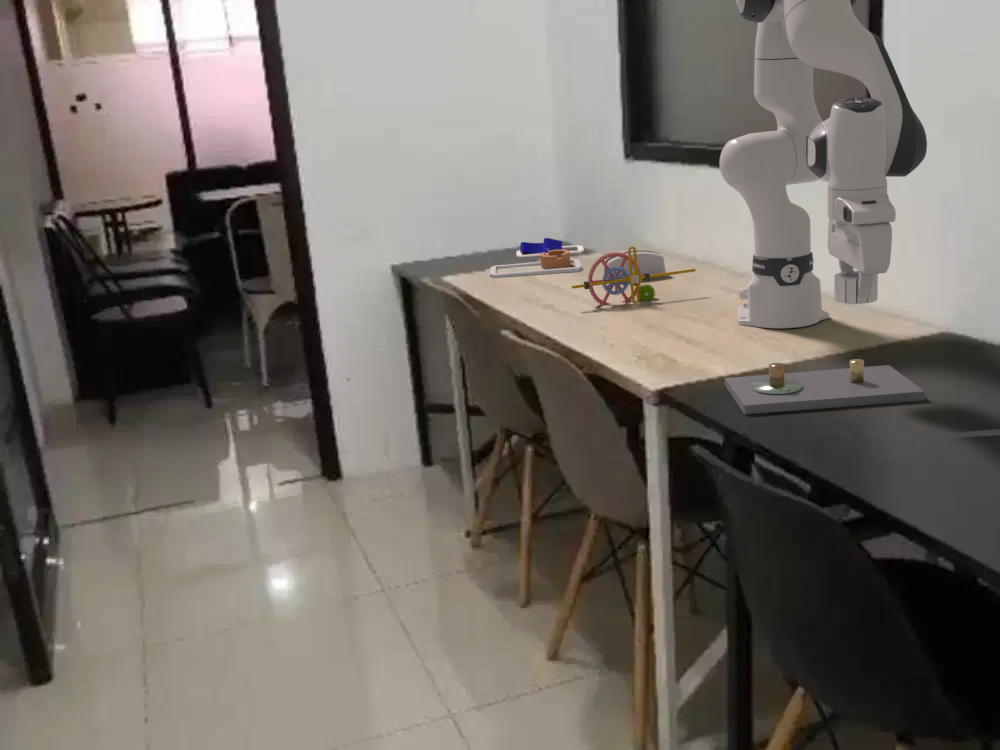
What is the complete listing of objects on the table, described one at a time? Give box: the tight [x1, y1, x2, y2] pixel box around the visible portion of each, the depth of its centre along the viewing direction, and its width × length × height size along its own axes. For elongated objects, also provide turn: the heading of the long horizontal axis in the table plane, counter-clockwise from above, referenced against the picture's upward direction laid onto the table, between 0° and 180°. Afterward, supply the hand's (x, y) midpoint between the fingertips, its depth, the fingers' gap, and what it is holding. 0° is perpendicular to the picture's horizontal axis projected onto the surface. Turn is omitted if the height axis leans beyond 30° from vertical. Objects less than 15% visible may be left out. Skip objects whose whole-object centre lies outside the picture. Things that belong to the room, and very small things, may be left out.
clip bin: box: [516, 244, 585, 259], centre depth 318 cm, size 12×20×4 cm, turn 89°
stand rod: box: [849, 358, 865, 383], centre depth 171 cm, size 2×2×4 cm
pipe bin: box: [489, 258, 583, 279], centre depth 292 cm, size 15×25×4 cm, turn 89°
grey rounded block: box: [602, 249, 667, 279], centre depth 271 cm, size 17×5×10 cm, turn 100°
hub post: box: [752, 362, 802, 395], centre depth 172 cm, size 8×8×4 cm
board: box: [724, 364, 925, 415], centre depth 172 cm, size 16×28×2 cm, turn 89°
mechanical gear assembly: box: [571, 246, 696, 306], centre depth 244 cm, size 30×4×15 cm, turn 102°
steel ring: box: [833, 270, 879, 305], centre depth 168 cm, size 6×6×4 cm
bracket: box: [538, 249, 572, 270], centre depth 298 cm, size 18×8×7 cm, turn 28°
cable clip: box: [519, 237, 563, 254], centre depth 315 cm, size 12×4×6 cm
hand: (856, 291), depth 168 cm, fingers closed on steel ring, 6 cm apart
